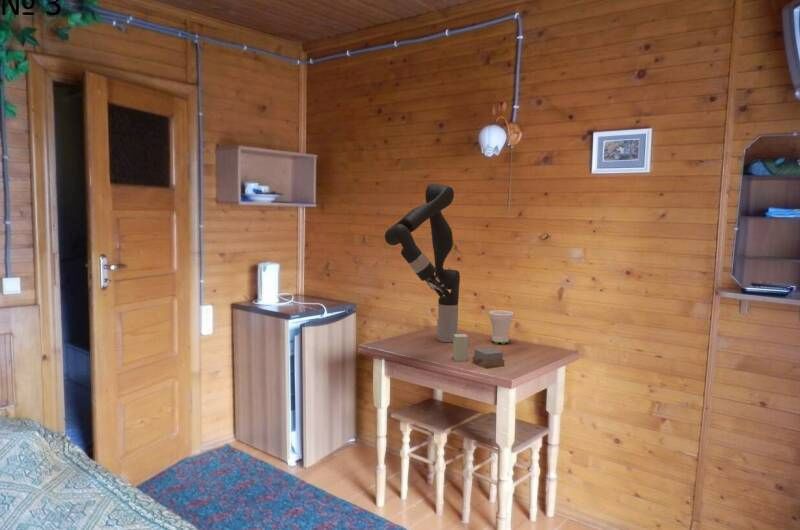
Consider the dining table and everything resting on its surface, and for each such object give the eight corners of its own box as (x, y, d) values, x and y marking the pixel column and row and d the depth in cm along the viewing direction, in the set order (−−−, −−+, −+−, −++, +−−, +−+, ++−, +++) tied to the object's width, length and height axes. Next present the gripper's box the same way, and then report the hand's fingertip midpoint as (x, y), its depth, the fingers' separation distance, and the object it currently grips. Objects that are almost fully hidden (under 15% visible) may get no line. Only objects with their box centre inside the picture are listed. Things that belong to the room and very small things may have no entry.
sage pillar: (453, 357, 240) (453, 334, 239) (464, 357, 241) (465, 334, 239) (455, 361, 235) (455, 336, 234) (467, 360, 236) (468, 336, 234)
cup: (494, 346, 260) (495, 315, 259) (484, 340, 271) (485, 310, 270) (516, 345, 263) (517, 314, 262) (505, 339, 274) (507, 309, 273)
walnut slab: (472, 364, 233) (472, 356, 233) (490, 361, 237) (490, 354, 237) (485, 370, 225) (486, 362, 225) (504, 367, 229) (504, 360, 229)
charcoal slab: (474, 356, 233) (474, 349, 232) (490, 354, 236) (490, 347, 236) (486, 361, 226) (486, 354, 225) (502, 359, 229) (502, 352, 229)
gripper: (434, 260, 226) (459, 292, 229) (423, 259, 239) (446, 289, 243) (420, 273, 224) (445, 304, 228) (409, 271, 238) (433, 301, 241)
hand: (446, 296), depth 235 cm, fingers open, 8 cm apart
